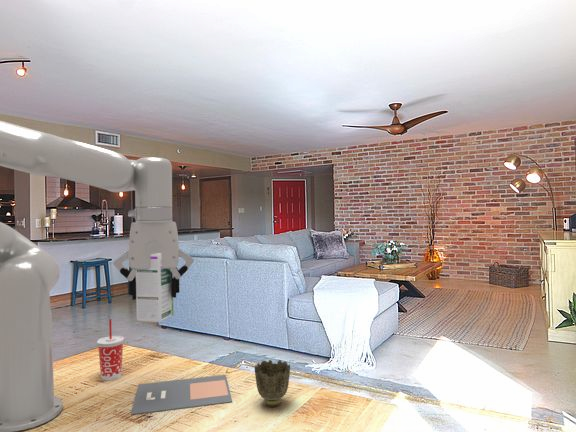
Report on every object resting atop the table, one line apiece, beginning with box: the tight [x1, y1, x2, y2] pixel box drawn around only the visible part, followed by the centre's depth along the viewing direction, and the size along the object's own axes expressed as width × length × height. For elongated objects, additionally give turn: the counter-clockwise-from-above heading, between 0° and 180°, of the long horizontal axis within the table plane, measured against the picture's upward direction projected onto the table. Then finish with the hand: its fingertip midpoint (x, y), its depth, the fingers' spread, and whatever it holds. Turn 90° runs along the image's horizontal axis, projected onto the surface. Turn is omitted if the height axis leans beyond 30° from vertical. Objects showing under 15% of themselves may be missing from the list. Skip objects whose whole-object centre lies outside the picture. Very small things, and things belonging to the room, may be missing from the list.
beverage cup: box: [96, 318, 125, 381], centre depth 99 cm, size 6×6×14 cm
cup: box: [253, 359, 291, 408], centre depth 85 cm, size 8×7×8 cm
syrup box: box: [135, 253, 174, 323], centre depth 88 cm, size 6×6×14 cm
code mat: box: [130, 374, 233, 416], centre depth 90 cm, size 20×14×1 cm
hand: (154, 296), depth 88 cm, fingers closed on syrup box, 7 cm apart
